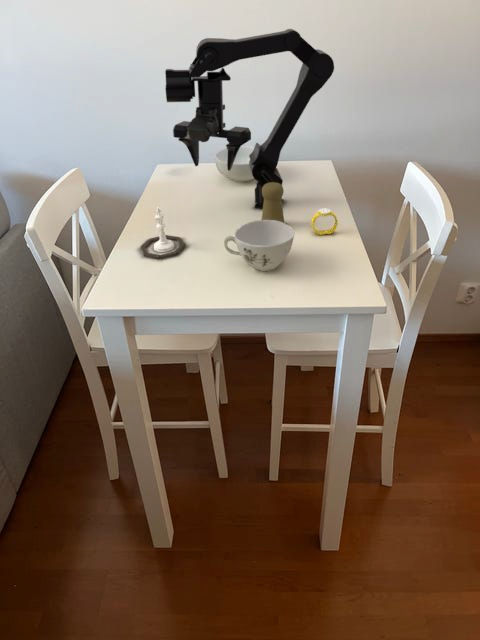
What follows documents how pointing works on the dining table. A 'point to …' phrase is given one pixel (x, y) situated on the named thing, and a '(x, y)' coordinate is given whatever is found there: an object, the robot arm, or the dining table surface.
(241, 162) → the cereal bowl
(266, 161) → the robot arm
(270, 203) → the cork
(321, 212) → the watch
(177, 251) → the spot ring
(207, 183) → the dining table surface
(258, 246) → the teacup
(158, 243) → the chess piece
